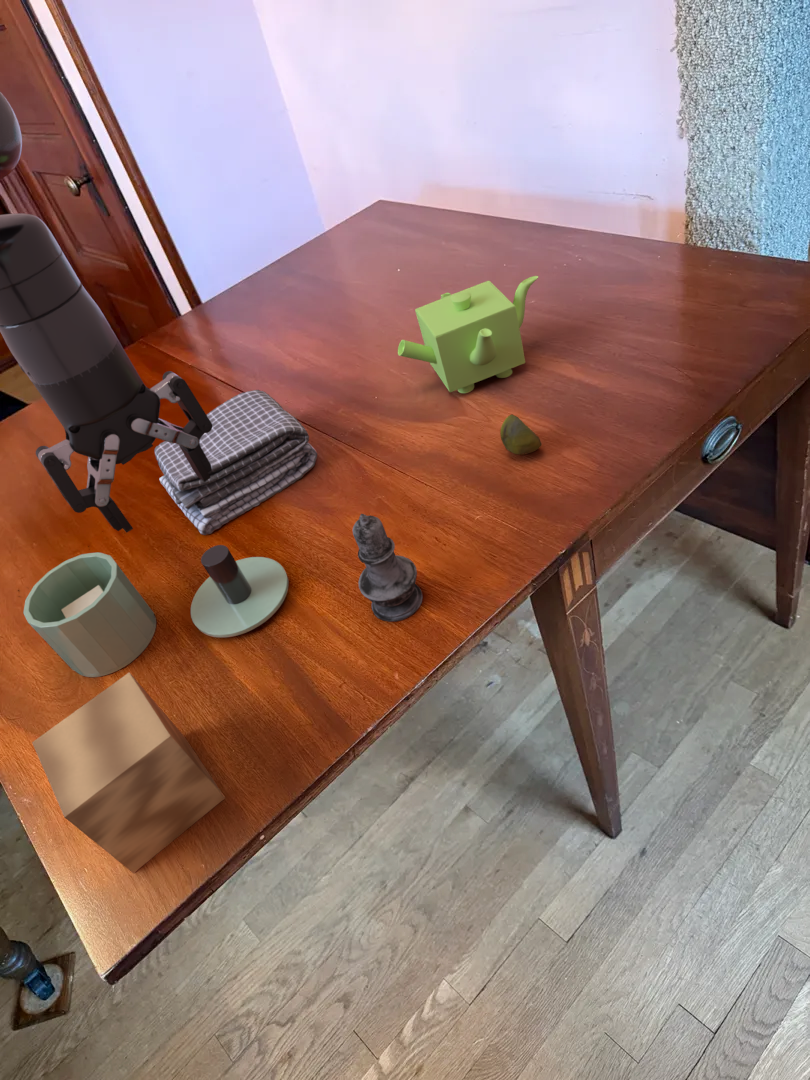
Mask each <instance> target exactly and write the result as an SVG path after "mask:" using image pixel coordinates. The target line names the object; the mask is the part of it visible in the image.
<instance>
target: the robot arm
mask: <svg viewBox="0 0 810 1080" xmlns="http://www.w3.org/2000/svg"><path fill="white" fill-rule="evenodd" d="M22 150H23V137H22V131H21V126H20V123H19V120H18V118H17V115H16V113H15V111H14V109H13V107H12V106H11V104H10V102H9V101H8V99H7V98H6V96H5V95H4V94H3V93H2V92H1V91H0V180H2V179H4V178H5V177H7V176H8V175H10V174H11V173H12V172H13V171H14V170H15V169H16V167H17V165H18V163H19V161H20V159H21V155H22ZM0 334H1V336H2V338H3V341H4V342H5V344H6V346H7V348H8V349H9V351H10V354H12V356H13V357H14V359H15V360H16V362H17V365H18V366H19V368H20V370H21V371H22V372H23V373H24V374H25V375H26V376H27V377H28V378H29V381H30V382H31V383H32V384H33V386H34V387H35V389H36V390H37V392H38V393H39V394H40V396H41V397H42V399H43V400H44V401H45V403H46V404H47V406H48V407H49V409H50V410H51V411H52V413H53V414H54V416H55V418H56V419H57V420H58V421H59V423H60V424H61V426H62V427H63V430H64V432H65V439H64V440H62V441H60V442H58V443H56V444H54V445H52V446H50V447H49V446H47V445H40V446H38V447H37V448H36V450H35V456H36V458H37V459H38V460H39V462H40V464H41V465H42V466H43V468H44V470H45V471H46V473H47V474H48V476H49V478H50V479H51V480H52V482H53V483H54V485H55V487H56V488H57V489H58V491H59V493H60V494H61V496H62V497H63V499H64V500H65V501H66V503H68V505H69V506H70V508H71V509H72V510H73V511H74V513H77V514H82V513H84V512H85V511H86V510H87V509H88V508H89V509H90V508H97V509H98V510H99V512H100V513H101V514H102V516H103V517H104V519H105V520H106V521H107V522H108V524H109V525H110V526H111V528H112V529H114V530H115V531H117V532H119V531H121V530H124V532H125V533H129V532H131V531H132V530H133V529H134V527H133V526H132V525H131V523H130V521H128V519H127V517H126V516H125V515H124V513H123V512H122V510H121V509H120V508H119V506H118V505H117V503H116V502H115V501H114V499H113V498H112V497H111V489H112V483H114V481H115V473H116V466H117V465H120V464H121V465H122V466H123V465H125V464H127V463H129V462H130V461H131V460H133V459H134V458H135V456H137V455H138V454H140V453H143V452H146V451H148V450H150V449H151V448H153V447H154V445H153V444H154V442H155V441H156V439H158V440H161V441H163V442H164V441H167V442H170V443H173V444H174V443H176V444H179V447H180V448H181V450H182V452H183V453H184V455H185V457H186V458H187V460H188V462H189V464H190V465H191V467H192V469H193V470H194V472H195V474H196V475H197V476H198V477H199V478H200V479H201V480H203V481H204V482H205V481H207V480H208V479H210V475H209V474H208V472H210V471H211V470H212V469H211V464H210V462H209V461H208V459H207V457H206V455H205V453H204V452H203V450H202V448H201V446H200V443H199V442H200V438H201V437H202V436H203V434H204V433H208V432H210V431H211V429H212V423H211V422H210V420H209V418H208V417H207V413H206V411H204V409H203V407H202V405H201V404H200V402H199V401H198V399H197V397H196V395H195V394H194V393H193V391H192V390H191V388H190V386H189V384H188V383H187V382H186V380H185V379H183V378H182V377H181V376H179V375H178V374H176V373H175V372H173V371H171V370H168V371H165V372H164V373H163V375H162V380H160V381H159V382H158V383H156V384H155V385H153V386H152V387H150V388H149V387H148V386H146V384H145V383H144V381H143V379H142V378H141V376H140V375H139V373H138V371H137V369H136V367H135V366H134V364H133V363H132V361H131V358H129V355H128V354H127V353H126V351H125V349H124V347H123V345H122V344H121V341H120V340H119V339H118V337H117V335H116V333H115V332H114V330H113V328H112V327H111V325H110V323H109V321H108V320H107V318H106V316H105V315H104V313H103V312H102V310H101V308H100V307H99V305H98V304H97V302H95V300H94V299H93V298H92V296H91V295H90V293H89V292H88V291H87V290H86V288H85V287H84V286H83V283H82V282H81V280H80V279H79V277H78V276H77V274H76V272H75V270H74V269H73V267H72V265H71V264H70V262H69V260H68V258H67V257H66V255H65V253H64V251H63V250H62V248H61V246H60V245H59V243H58V241H57V239H56V238H55V236H54V234H53V233H52V231H51V230H50V229H49V227H48V226H47V224H46V223H45V222H44V221H43V219H41V218H40V217H38V216H37V215H34V214H32V213H25V212H24V213H21V212H20V213H5V214H0ZM162 399H165V400H167V401H169V402H170V403H172V404H177V405H178V406H179V408H180V409H181V411H182V413H183V414H184V415H185V417H186V418H187V420H188V422H187V423H186V424H185V425H184V427H182V426H180V425H177V424H174V423H171V422H169V421H167V420H165V419H162V418H160V412H161V411H160V410H161V400H162ZM74 452H75V453H76V454H79V455H82V456H84V457H87V465H86V469H87V481H86V488H81V489H78V487H77V486H76V484H75V482H74V481H73V480H72V478H71V476H70V475H69V473H68V470H69V469H71V467H72V461H71V455H72V454H73V453H74Z"/></svg>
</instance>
